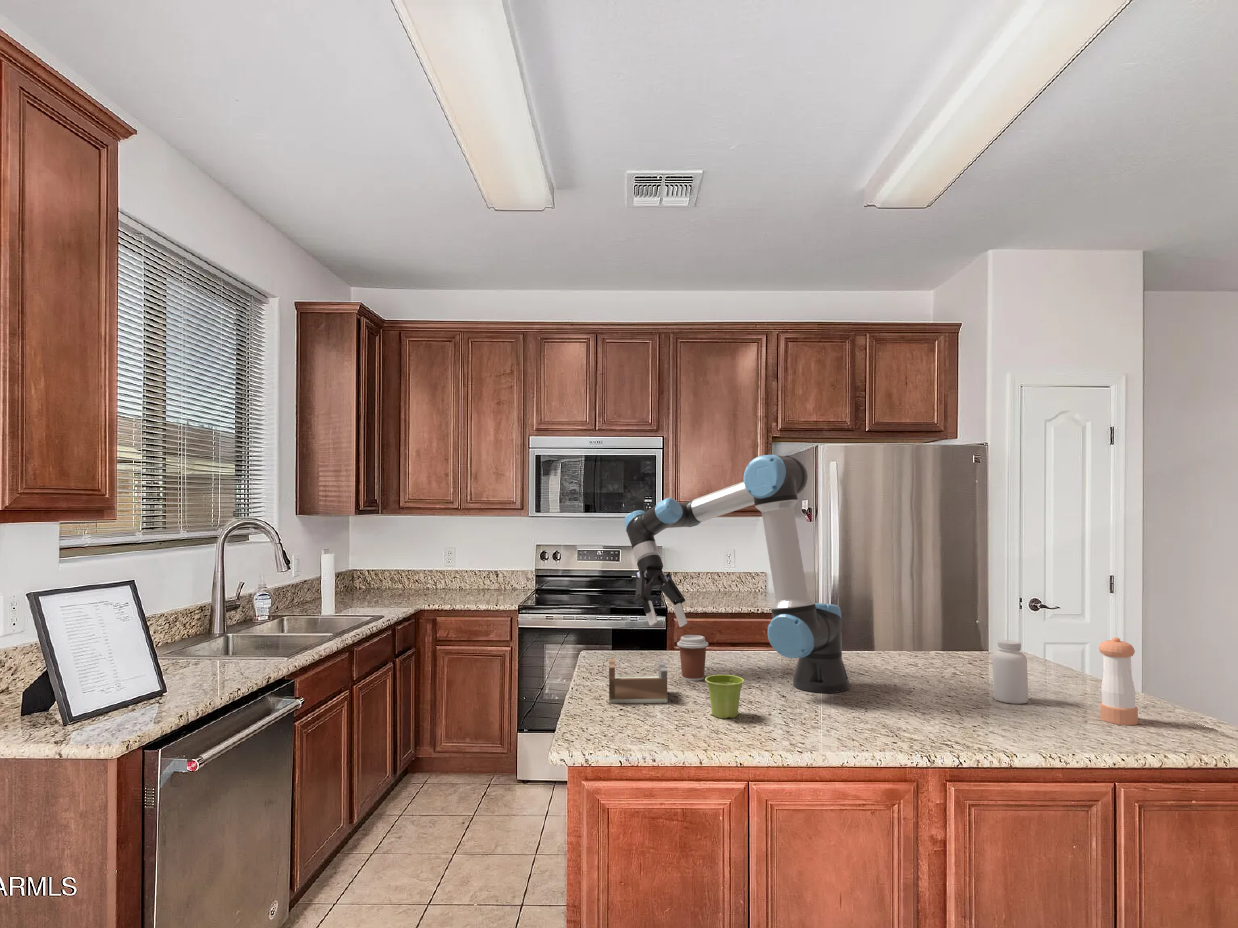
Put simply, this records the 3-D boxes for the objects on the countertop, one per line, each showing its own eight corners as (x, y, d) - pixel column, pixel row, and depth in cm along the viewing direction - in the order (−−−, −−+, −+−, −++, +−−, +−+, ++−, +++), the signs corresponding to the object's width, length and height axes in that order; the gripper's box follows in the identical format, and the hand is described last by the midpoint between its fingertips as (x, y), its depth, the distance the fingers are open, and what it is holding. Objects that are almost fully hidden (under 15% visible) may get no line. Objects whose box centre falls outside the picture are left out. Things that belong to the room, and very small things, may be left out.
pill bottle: (1027, 698, 195) (1025, 639, 196) (1029, 706, 188) (1027, 645, 189) (993, 695, 199) (991, 637, 199) (994, 702, 191) (992, 643, 192)
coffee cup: (708, 674, 224) (707, 634, 224) (709, 682, 215) (708, 639, 215) (677, 674, 225) (677, 633, 225) (677, 681, 216) (676, 639, 216)
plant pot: (750, 713, 184) (749, 677, 184) (735, 723, 176) (735, 685, 176) (714, 707, 189) (714, 672, 189) (699, 717, 180) (698, 680, 181)
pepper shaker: (1139, 726, 170) (1135, 641, 171) (1100, 722, 174) (1097, 638, 175) (1137, 718, 177) (1134, 636, 177) (1100, 714, 180) (1097, 633, 181)
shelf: (609, 680, 218) (609, 648, 218) (661, 679, 218) (660, 648, 219) (609, 703, 194) (609, 667, 194) (667, 702, 194) (667, 667, 194)
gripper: (665, 567, 241) (686, 630, 230) (611, 560, 223) (631, 628, 213) (682, 557, 237) (704, 620, 227) (628, 549, 219) (649, 617, 209)
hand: (668, 624), depth 220 cm, fingers open, 13 cm apart
